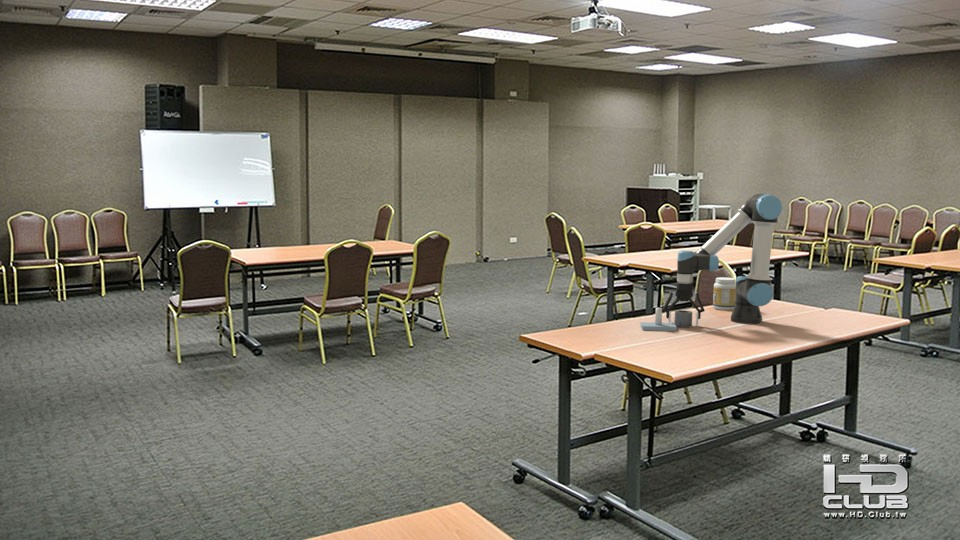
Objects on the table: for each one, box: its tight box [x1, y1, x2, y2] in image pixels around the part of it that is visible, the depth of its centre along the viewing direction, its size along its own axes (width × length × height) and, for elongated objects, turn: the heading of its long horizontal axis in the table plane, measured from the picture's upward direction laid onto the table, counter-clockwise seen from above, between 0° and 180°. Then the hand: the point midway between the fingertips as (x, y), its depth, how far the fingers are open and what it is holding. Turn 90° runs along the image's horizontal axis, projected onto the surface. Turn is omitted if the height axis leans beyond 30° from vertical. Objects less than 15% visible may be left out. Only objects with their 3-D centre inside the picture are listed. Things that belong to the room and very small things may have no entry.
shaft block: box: [640, 307, 678, 332], centre depth 384 cm, size 16×10×10 cm, turn 84°
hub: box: [673, 309, 693, 328], centre depth 391 cm, size 8×8×7 cm
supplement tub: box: [712, 276, 736, 311], centre depth 440 cm, size 12×12×17 cm
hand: (682, 325), depth 392 cm, fingers open, 12 cm apart
